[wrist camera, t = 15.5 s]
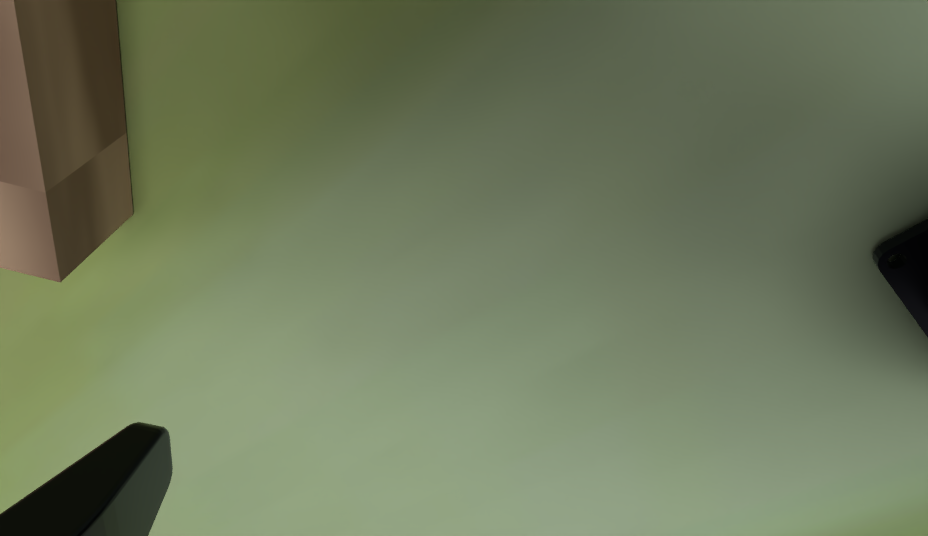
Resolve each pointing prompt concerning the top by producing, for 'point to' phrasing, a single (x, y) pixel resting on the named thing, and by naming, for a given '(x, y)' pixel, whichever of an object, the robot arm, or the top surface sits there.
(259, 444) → the top surface
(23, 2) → the brown rectangular frame
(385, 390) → the top surface
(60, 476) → the robot arm
